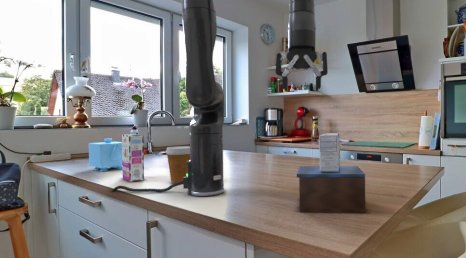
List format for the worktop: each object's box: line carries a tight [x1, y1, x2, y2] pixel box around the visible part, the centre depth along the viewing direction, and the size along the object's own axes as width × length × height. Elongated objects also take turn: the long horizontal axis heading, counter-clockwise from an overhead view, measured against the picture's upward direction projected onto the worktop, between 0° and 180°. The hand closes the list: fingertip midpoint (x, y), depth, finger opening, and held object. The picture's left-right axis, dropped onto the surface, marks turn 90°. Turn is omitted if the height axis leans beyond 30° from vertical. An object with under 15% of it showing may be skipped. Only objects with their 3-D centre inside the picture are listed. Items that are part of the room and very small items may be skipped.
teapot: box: [88, 137, 122, 172], centre depth 131 cm, size 22×11×14 cm, turn 52°
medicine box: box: [318, 132, 341, 172], centre depth 71 cm, size 8×4×9 cm, turn 169°
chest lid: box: [296, 165, 366, 179], centre depth 71 cm, size 15×12×1 cm
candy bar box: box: [121, 134, 145, 183], centre depth 107 cm, size 11×5×16 cm, turn 42°
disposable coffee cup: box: [165, 145, 190, 184], centre depth 102 cm, size 10×10×12 cm
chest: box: [298, 177, 366, 214], centre depth 72 cm, size 15×12×8 cm
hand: (301, 91), depth 82 cm, fingers open, 8 cm apart
